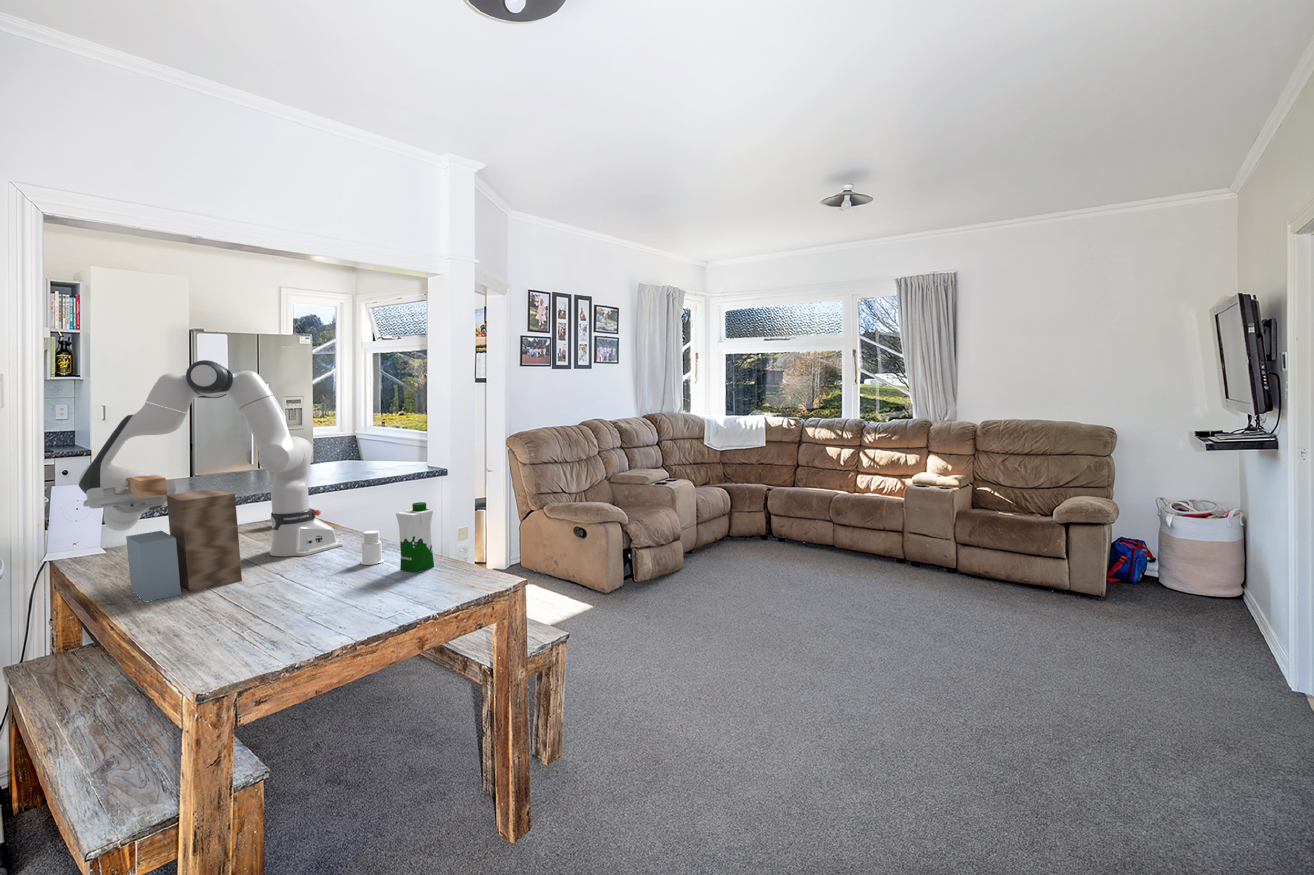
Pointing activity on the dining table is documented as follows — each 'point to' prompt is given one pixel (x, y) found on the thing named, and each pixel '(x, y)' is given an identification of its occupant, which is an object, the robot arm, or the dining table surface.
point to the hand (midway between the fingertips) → (136, 482)
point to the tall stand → (205, 538)
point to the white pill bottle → (371, 548)
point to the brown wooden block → (147, 485)
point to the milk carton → (415, 538)
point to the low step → (153, 565)
